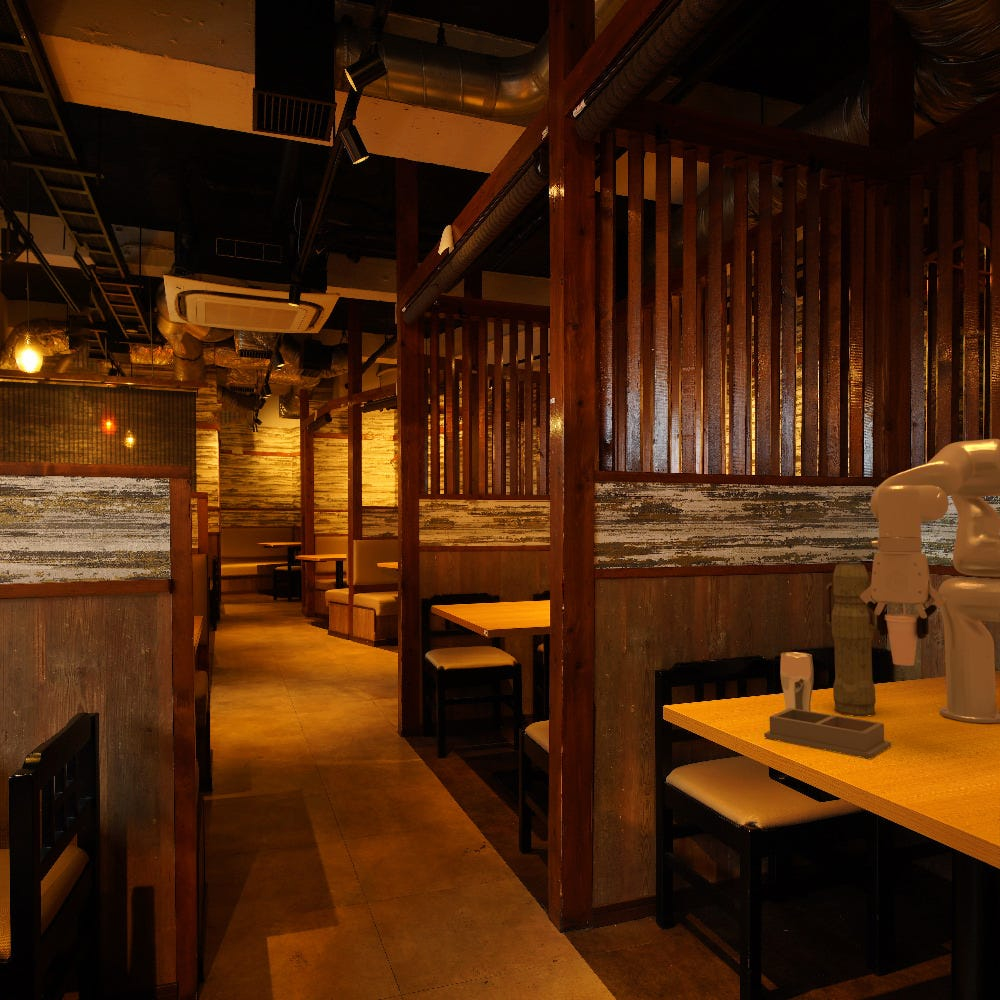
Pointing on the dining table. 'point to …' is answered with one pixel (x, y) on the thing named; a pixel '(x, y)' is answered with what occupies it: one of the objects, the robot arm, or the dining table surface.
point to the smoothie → (902, 637)
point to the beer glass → (797, 679)
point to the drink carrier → (828, 732)
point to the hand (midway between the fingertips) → (902, 635)
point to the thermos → (851, 640)
